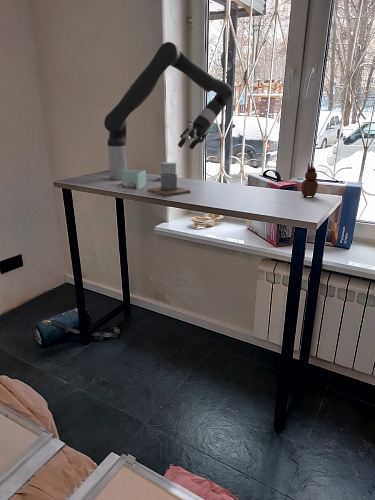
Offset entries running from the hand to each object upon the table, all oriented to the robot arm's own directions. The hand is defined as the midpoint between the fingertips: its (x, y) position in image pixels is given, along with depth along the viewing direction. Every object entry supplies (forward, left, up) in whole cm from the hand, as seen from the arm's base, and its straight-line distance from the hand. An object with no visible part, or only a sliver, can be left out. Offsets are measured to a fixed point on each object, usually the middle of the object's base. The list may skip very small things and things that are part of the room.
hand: (184, 147), depth 171 cm
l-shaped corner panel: (-19, -18, -20) cm, 33 cm away
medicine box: (-25, +9, -20) cm, 33 cm away
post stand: (+1, -10, -19) cm, 22 cm away
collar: (+1, -10, -18) cm, 21 cm away
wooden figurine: (+45, +35, -20) cm, 60 cm away
